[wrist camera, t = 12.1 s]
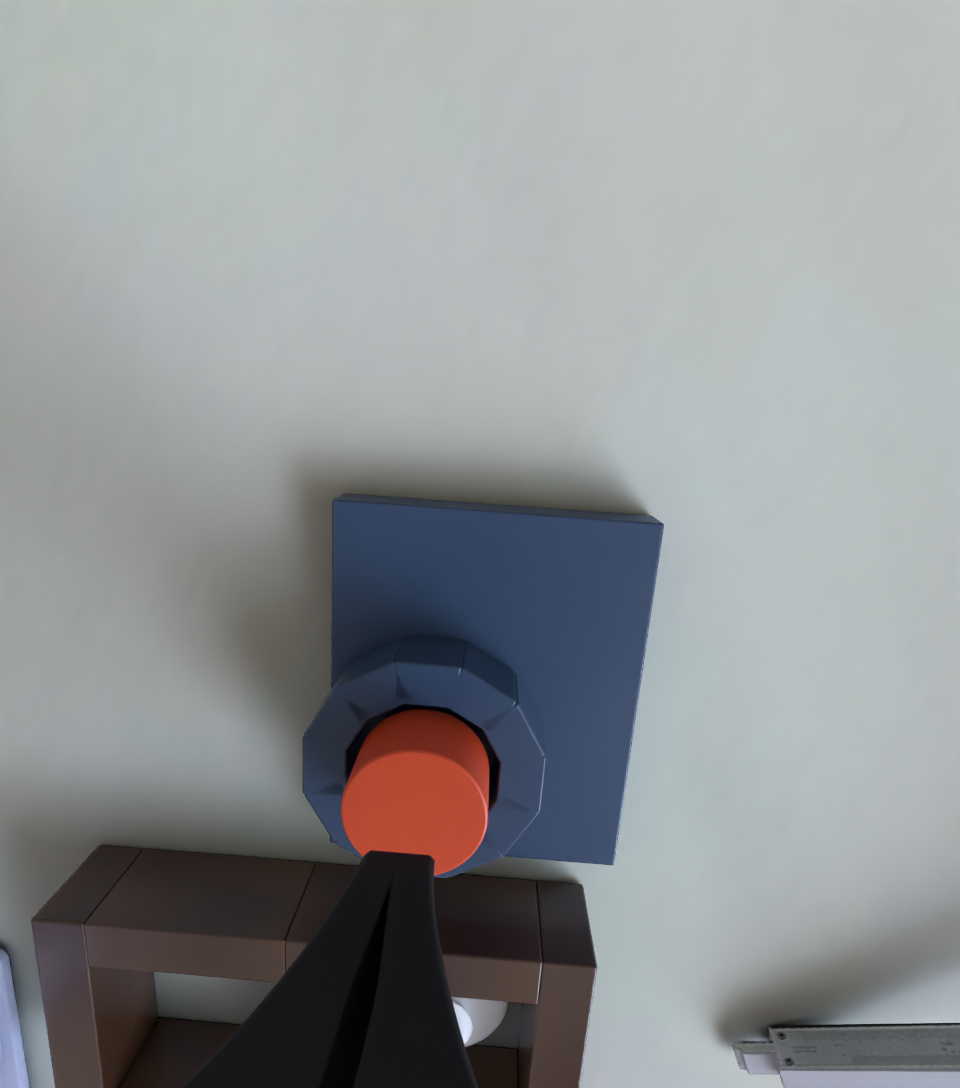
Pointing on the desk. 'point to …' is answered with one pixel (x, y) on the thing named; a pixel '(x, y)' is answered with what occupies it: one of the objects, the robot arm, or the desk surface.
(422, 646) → the station
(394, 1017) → the robot arm
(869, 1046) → the caliper
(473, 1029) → the chess piece
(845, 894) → the desk surface
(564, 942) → the holder
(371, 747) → the station button
